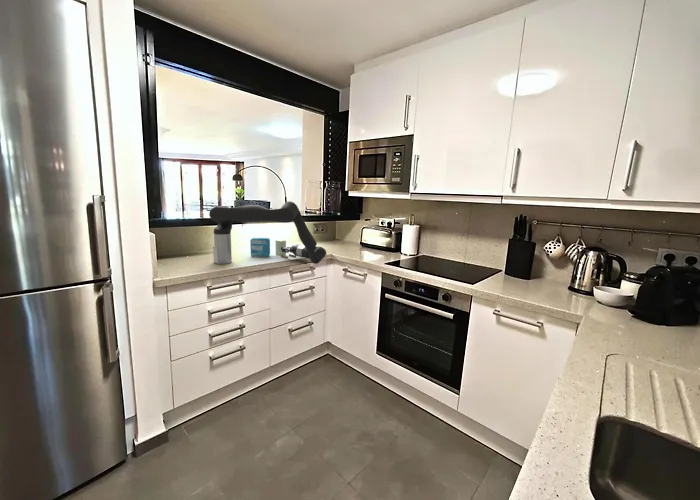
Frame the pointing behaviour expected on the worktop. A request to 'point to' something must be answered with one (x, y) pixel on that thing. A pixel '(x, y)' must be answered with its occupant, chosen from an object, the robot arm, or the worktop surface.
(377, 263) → the worktop surface
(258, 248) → the data package
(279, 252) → the sage block
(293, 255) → the chute
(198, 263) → the worktop surface
